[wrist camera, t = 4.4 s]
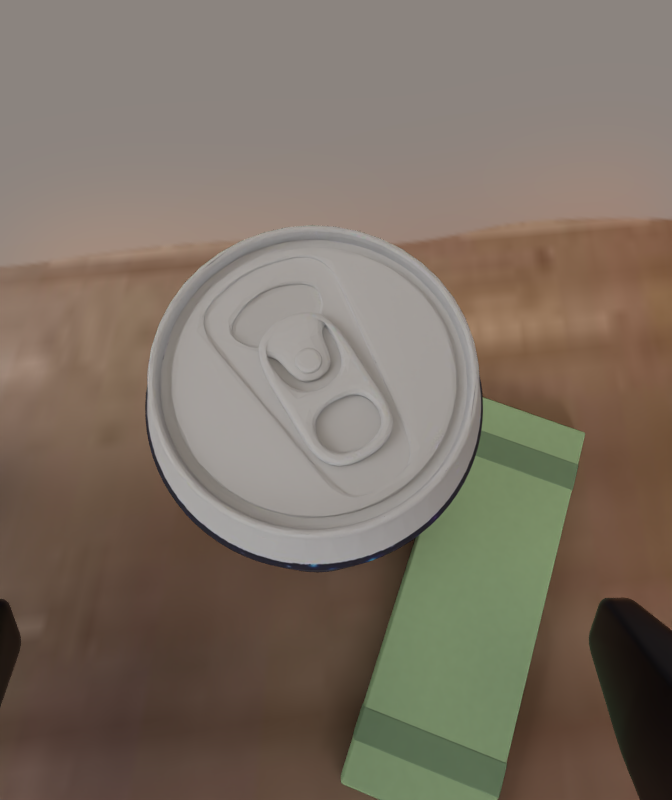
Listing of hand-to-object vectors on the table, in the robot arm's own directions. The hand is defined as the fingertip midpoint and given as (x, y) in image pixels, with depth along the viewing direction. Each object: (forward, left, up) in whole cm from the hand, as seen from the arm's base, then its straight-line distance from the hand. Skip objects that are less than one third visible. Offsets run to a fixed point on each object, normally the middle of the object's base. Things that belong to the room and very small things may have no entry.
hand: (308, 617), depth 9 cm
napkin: (-5, -2, -11) cm, 12 cm away
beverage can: (+1, -3, -11) cm, 11 cm away
